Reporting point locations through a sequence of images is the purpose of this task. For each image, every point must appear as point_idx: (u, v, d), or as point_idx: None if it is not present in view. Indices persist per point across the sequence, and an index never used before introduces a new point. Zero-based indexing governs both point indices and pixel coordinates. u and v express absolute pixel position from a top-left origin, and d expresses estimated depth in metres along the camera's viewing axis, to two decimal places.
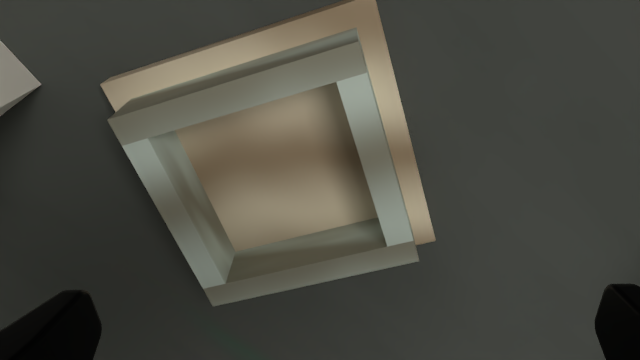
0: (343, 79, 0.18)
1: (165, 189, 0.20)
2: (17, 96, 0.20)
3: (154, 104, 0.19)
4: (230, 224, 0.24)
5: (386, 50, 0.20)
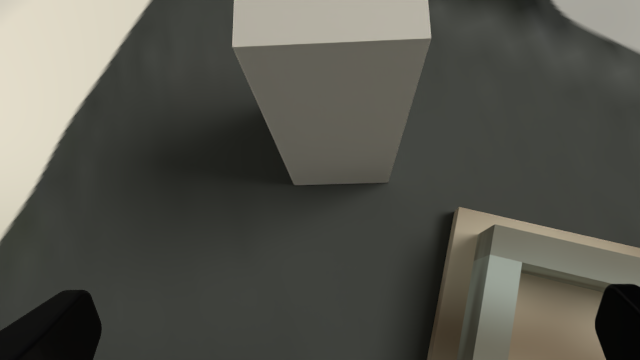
0: None
1: (501, 323, 0.17)
2: None
3: (549, 237, 0.18)
4: None
5: None
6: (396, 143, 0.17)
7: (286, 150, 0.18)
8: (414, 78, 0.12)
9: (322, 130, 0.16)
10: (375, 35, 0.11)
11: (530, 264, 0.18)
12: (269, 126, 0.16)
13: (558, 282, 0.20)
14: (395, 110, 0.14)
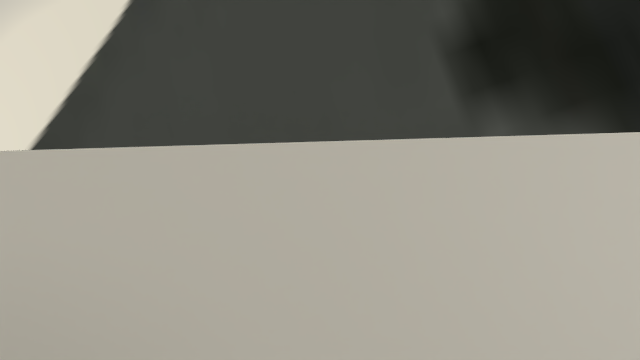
0: None
1: None
2: None
3: None
4: None
5: None
6: None
7: None
8: None
9: None
10: None
11: None
12: None
13: None
14: None
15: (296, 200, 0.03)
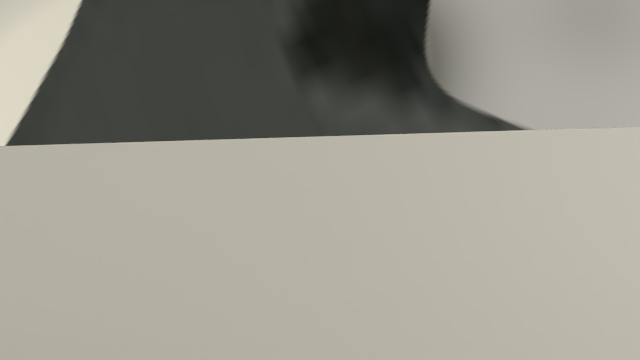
0: None
1: None
2: None
3: None
4: None
5: None
6: None
7: None
8: None
9: None
10: None
11: None
12: None
13: None
14: None
15: (293, 195, 0.03)
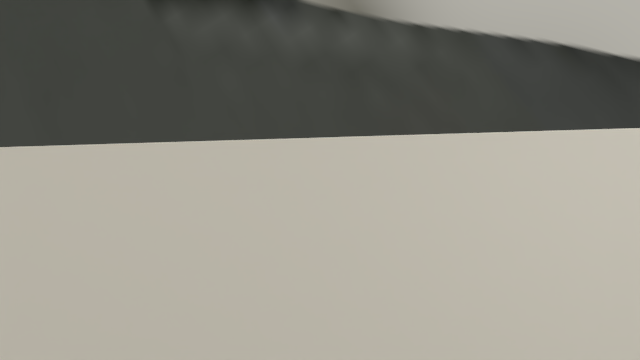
0: None
1: None
2: None
3: None
4: None
5: None
6: None
7: None
8: None
9: None
10: None
11: None
12: None
13: None
14: None
15: (295, 196, 0.03)
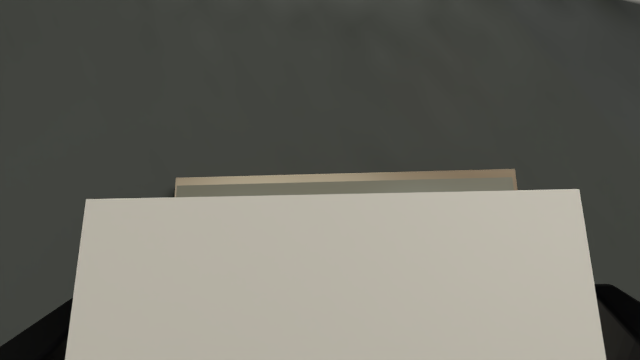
0: None
1: None
2: None
3: (242, 185, 0.15)
4: None
5: None
6: None
7: None
8: None
9: None
10: None
11: None
12: None
13: None
14: None
15: (311, 234, 0.04)
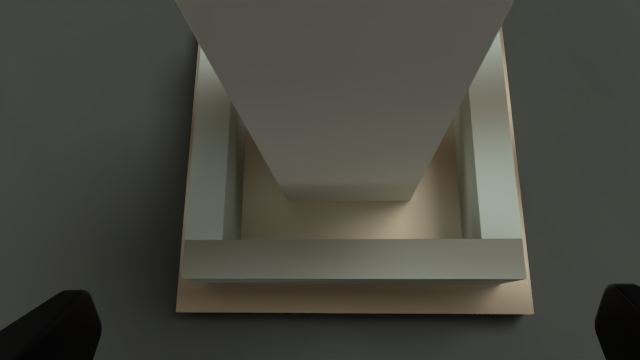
0: None
1: None
2: (416, 187, 0.16)
3: None
4: (253, 204, 0.18)
5: (502, 48, 0.19)
6: (431, 151, 0.12)
7: (274, 157, 0.13)
8: (484, 42, 0.07)
9: (325, 130, 0.11)
10: None
11: None
12: (246, 122, 0.10)
13: None
14: (439, 100, 0.09)
15: None
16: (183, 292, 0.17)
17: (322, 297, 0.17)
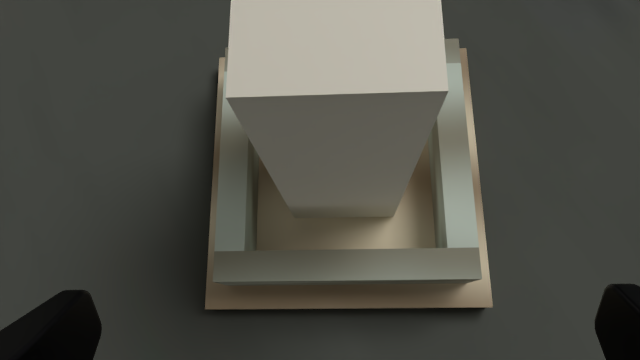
0: None
1: None
2: None
3: None
4: (266, 221, 0.22)
5: (468, 90, 0.23)
6: (404, 184, 0.16)
7: (286, 189, 0.17)
8: (427, 127, 0.11)
9: (325, 172, 0.15)
10: (385, 87, 0.10)
11: None
12: (267, 168, 0.14)
13: None
14: (404, 155, 0.13)
15: None
16: (210, 293, 0.21)
17: (323, 295, 0.21)
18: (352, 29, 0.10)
